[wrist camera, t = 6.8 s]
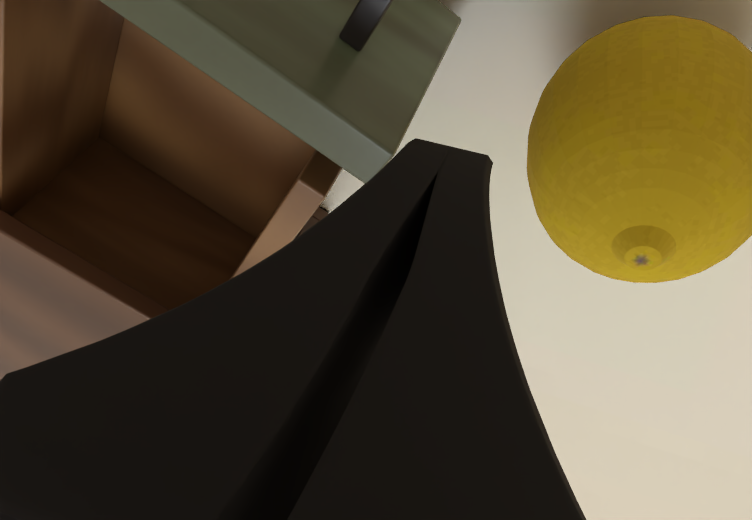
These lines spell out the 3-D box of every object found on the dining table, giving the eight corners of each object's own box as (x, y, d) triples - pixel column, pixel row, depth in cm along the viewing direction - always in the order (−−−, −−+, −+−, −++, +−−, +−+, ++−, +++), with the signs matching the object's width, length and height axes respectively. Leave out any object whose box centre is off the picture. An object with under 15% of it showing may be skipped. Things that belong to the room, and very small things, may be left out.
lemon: (578, -51, 15) (538, 112, 10) (807, -14, 14) (895, 188, 9) (527, 127, 19) (481, 308, 14) (703, 165, 18) (722, 375, 13)
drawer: (187, -504, 11) (-111, -591, 7) (586, -144, 13) (554, -34, 9) (82, 115, 24) (-42, 219, 20) (287, 247, 26) (215, 368, 22)
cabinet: (89, 52, 23) (-86, 181, 18) (329, 212, 25) (240, 372, 20) (58, 235, 34) (-56, 351, 28) (230, 337, 36) (154, 463, 30)
